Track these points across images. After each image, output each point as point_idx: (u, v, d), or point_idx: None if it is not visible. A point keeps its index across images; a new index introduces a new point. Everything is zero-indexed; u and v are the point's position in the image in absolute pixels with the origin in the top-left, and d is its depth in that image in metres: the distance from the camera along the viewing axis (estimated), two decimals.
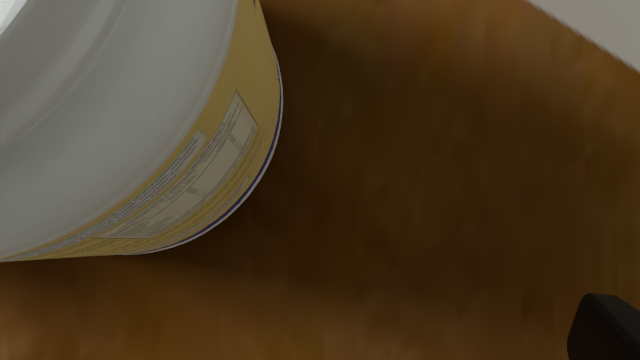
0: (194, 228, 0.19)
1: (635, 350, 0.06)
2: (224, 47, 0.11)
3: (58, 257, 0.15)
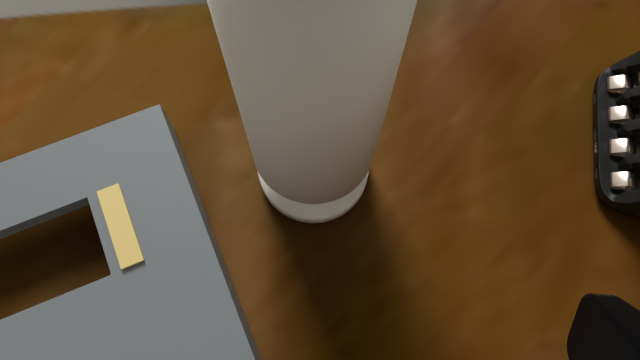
0: None
1: (635, 350, 0.06)
2: None
3: None
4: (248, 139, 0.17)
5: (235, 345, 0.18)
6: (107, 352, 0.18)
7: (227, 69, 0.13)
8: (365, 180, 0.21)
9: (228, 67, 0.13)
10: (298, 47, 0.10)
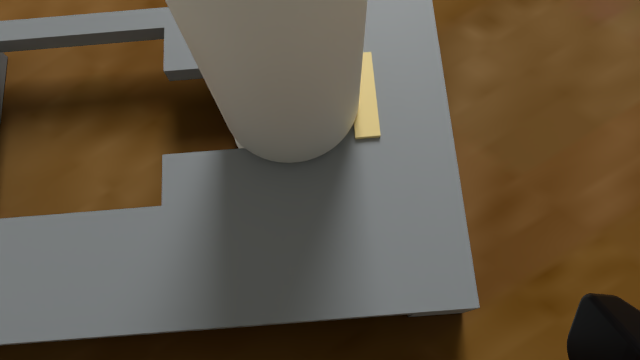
0: None
1: (635, 350, 0.06)
2: None
3: None
4: None
5: (456, 251, 0.16)
6: (322, 215, 0.17)
7: None
8: None
9: None
10: None
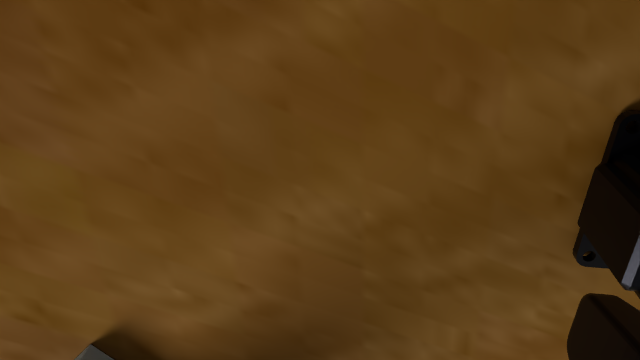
0: None
1: (635, 350, 0.06)
2: None
3: None
4: None
5: None
6: None
7: None
8: None
9: None
10: None
